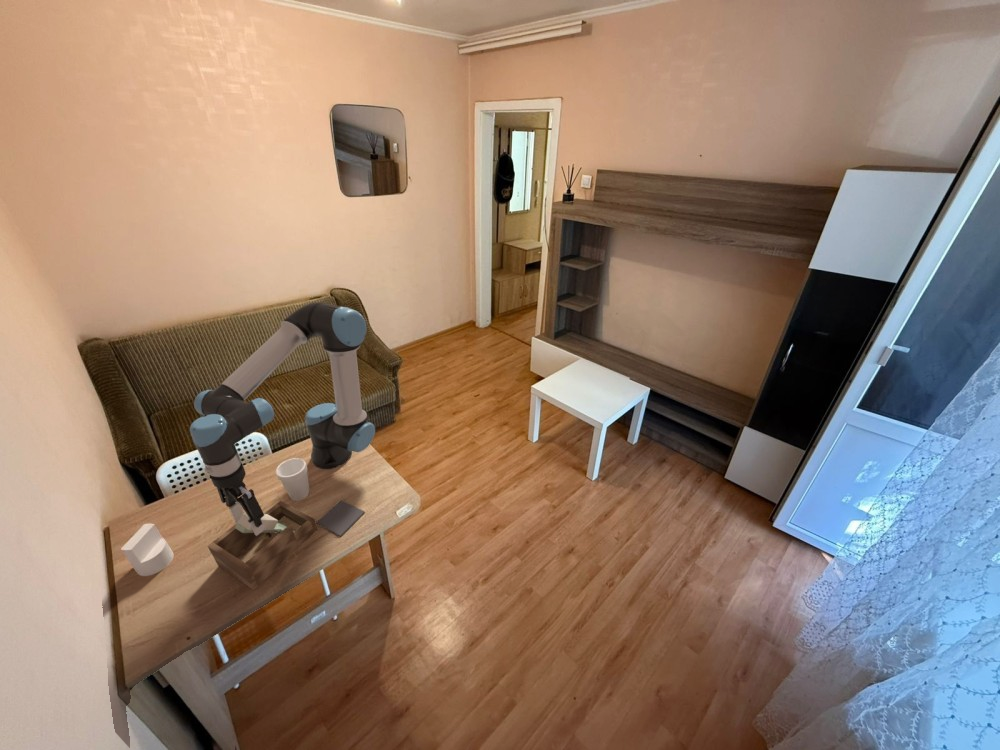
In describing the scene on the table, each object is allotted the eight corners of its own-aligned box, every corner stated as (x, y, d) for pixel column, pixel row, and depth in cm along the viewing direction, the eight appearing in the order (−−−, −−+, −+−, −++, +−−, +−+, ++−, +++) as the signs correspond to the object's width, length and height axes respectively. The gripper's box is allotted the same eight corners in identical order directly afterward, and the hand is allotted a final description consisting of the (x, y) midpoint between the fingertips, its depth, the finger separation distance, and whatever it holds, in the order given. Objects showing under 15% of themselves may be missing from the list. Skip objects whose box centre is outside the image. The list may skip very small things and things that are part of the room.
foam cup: (303, 506, 142) (294, 479, 135) (279, 501, 143) (269, 474, 137) (319, 486, 150) (311, 460, 143) (296, 482, 151) (287, 456, 145)
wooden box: (284, 511, 140) (277, 492, 135) (318, 529, 134) (311, 510, 129) (218, 566, 122) (207, 546, 117) (253, 590, 116) (243, 569, 111)
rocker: (279, 524, 135) (281, 519, 135) (298, 535, 131) (301, 530, 132) (228, 524, 118) (231, 518, 118) (248, 536, 114) (252, 530, 115)
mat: (341, 500, 144) (340, 499, 144) (364, 512, 140) (364, 511, 140) (316, 523, 136) (316, 522, 135) (340, 536, 132) (340, 535, 131)
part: (262, 523, 126) (267, 514, 127) (273, 530, 124) (278, 520, 125) (237, 523, 118) (242, 513, 118) (248, 530, 116) (253, 519, 117)
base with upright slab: (152, 548, 127) (135, 522, 121) (180, 549, 127) (165, 524, 120) (128, 575, 119) (109, 549, 113) (158, 576, 119) (141, 550, 113)
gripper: (187, 464, 109) (215, 521, 120) (237, 491, 101) (262, 550, 112) (215, 447, 114) (239, 504, 126) (264, 472, 106) (285, 530, 118)
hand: (250, 526), depth 119 cm, fingers open, 8 cm apart
